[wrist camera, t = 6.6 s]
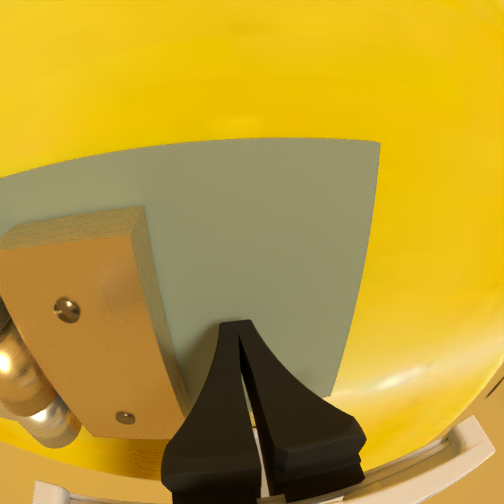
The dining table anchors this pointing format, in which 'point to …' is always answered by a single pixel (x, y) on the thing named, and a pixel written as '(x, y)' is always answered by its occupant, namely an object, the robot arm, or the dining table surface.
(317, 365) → the felt mat
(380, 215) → the dining table surface
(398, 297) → the dining table surface
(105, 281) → the brass leaf
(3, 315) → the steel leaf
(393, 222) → the dining table surface
